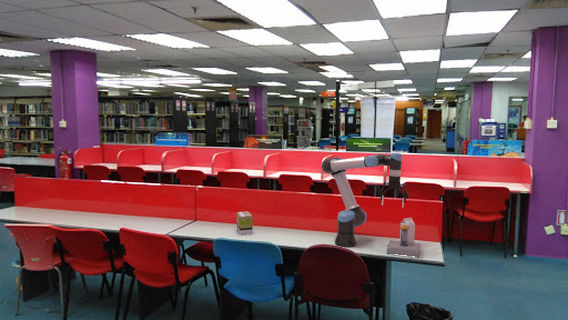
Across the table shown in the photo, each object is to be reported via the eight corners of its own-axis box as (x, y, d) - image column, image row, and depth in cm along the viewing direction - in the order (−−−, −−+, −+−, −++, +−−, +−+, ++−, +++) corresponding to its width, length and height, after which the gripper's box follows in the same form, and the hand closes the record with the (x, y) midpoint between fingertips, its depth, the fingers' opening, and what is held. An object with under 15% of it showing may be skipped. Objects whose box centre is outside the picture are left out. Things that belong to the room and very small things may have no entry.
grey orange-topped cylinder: (398, 252, 261) (399, 226, 259) (399, 249, 266) (400, 224, 265) (408, 253, 259) (409, 227, 257) (408, 250, 264) (409, 225, 263)
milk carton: (399, 242, 282) (400, 217, 280) (407, 242, 284) (408, 216, 282) (405, 245, 275) (407, 219, 273) (414, 244, 278) (415, 218, 276)
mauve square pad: (386, 254, 257) (387, 245, 256) (389, 245, 275) (390, 237, 275) (418, 258, 249) (419, 249, 249) (419, 249, 268) (420, 240, 268)
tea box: (236, 229, 310) (236, 211, 309) (248, 229, 313) (248, 211, 312) (240, 235, 296) (240, 216, 295) (252, 234, 299) (253, 215, 298)
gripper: (375, 174, 265) (373, 205, 267) (413, 178, 256) (411, 209, 258) (376, 173, 271) (374, 203, 274) (414, 176, 263) (411, 207, 265)
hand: (392, 206), depth 266 cm, fingers open, 13 cm apart
